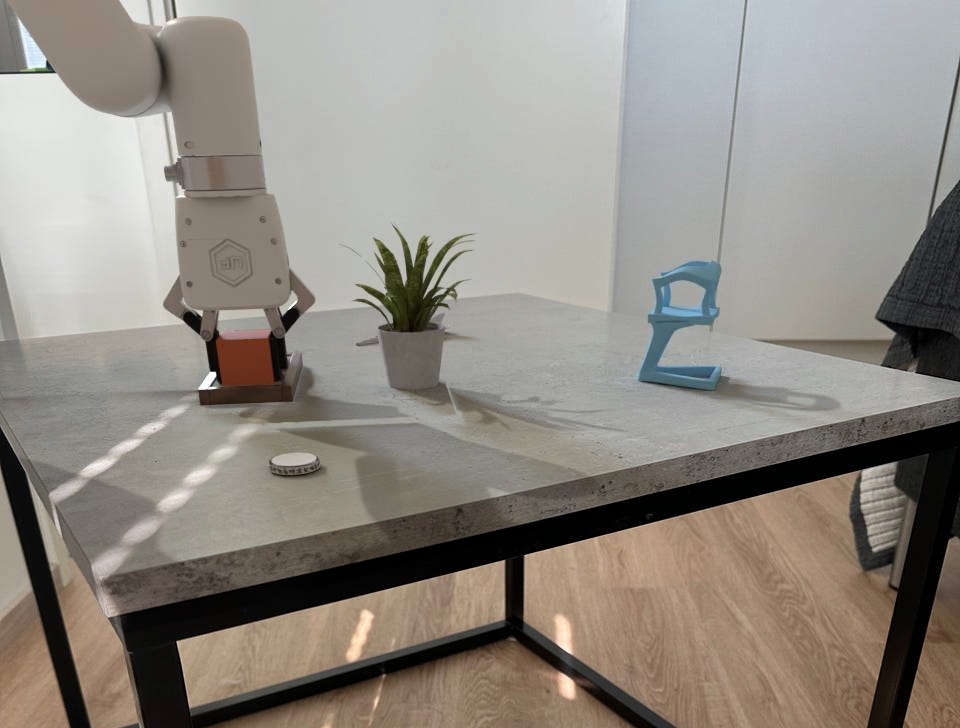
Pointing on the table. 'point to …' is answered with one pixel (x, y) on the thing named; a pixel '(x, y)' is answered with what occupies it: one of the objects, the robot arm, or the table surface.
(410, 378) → the house plant
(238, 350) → the terracotta cube
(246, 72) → the robot arm
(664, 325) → the chair
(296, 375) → the frame
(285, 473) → the white round disc
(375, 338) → the toy airplane
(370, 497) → the table surface
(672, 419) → the table surface
